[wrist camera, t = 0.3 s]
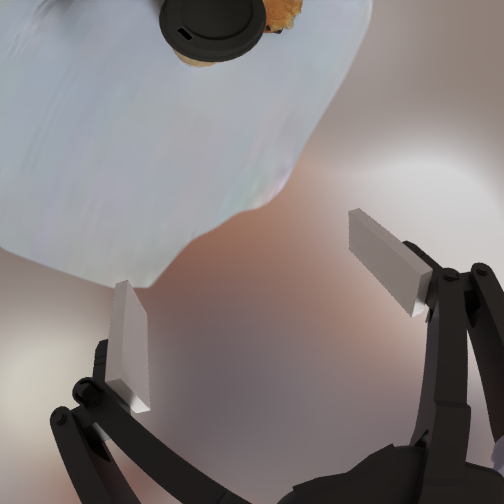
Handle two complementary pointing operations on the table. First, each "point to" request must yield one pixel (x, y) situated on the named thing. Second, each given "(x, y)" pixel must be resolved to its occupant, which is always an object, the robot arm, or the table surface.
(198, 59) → the coffee cup
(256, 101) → the table surface
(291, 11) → the bread roll
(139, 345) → the robot arm
